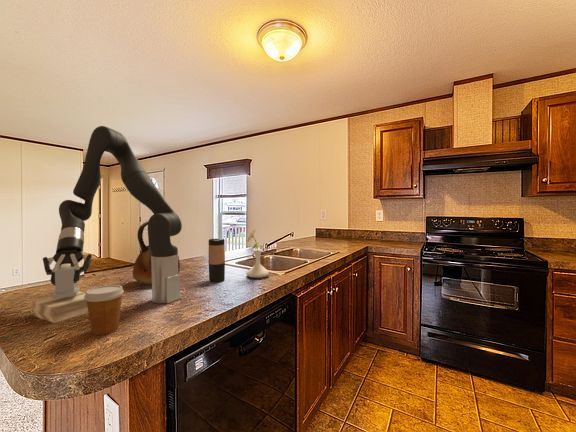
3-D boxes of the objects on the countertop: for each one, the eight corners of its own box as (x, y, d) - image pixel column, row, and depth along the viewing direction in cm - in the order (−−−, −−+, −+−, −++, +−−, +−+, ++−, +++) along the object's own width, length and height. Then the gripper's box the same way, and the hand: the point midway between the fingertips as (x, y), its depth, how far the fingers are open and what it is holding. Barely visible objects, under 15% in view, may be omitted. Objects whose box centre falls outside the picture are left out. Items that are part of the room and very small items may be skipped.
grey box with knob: (79, 290, 97) (79, 261, 96) (76, 295, 91) (75, 265, 91) (56, 293, 94) (55, 263, 93) (51, 298, 88) (50, 267, 88)
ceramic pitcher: (187, 281, 130) (186, 219, 130) (143, 291, 115) (141, 220, 114) (168, 274, 143) (168, 218, 142) (126, 282, 128) (125, 219, 127)
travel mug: (210, 283, 127) (210, 240, 126) (207, 279, 134) (206, 239, 133) (226, 281, 130) (226, 239, 130) (222, 277, 137) (222, 238, 136)
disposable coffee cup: (98, 323, 83) (97, 284, 83) (130, 322, 84) (130, 284, 83) (76, 338, 74) (75, 294, 73) (113, 337, 74) (112, 294, 74)
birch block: (98, 309, 96) (98, 295, 95) (54, 324, 84) (53, 308, 84) (77, 304, 101) (77, 290, 101) (33, 316, 89) (32, 301, 89)
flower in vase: (254, 273, 147) (254, 226, 146) (273, 275, 142) (272, 227, 141) (240, 278, 135) (239, 228, 134) (259, 281, 130) (259, 229, 129)
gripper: (43, 237, 95) (33, 279, 85) (93, 235, 102) (90, 274, 92) (47, 250, 99) (39, 291, 89) (95, 247, 106) (92, 285, 96)
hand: (64, 282), depth 91 cm, fingers closed on grey box with knob, 4 cm apart
